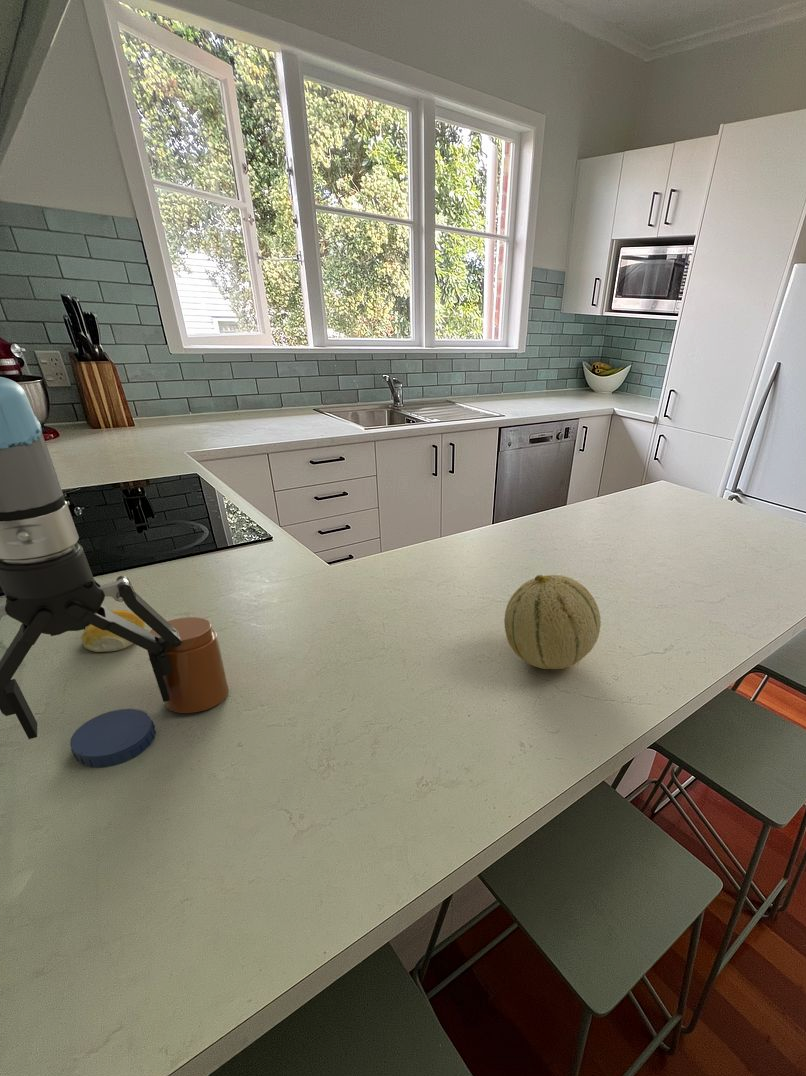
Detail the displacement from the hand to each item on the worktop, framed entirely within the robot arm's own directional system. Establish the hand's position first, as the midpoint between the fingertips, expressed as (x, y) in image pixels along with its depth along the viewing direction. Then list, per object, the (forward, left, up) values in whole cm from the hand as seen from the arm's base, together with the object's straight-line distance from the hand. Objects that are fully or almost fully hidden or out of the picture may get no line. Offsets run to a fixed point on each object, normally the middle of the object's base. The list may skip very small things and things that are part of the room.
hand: (102, 712), depth 65 cm
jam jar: (-4, +10, -4) cm, 12 cm away
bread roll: (-26, +2, -5) cm, 26 cm away
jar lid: (+1, 0, -3) cm, 3 cm away
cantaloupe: (+13, +59, -5) cm, 61 cm away
